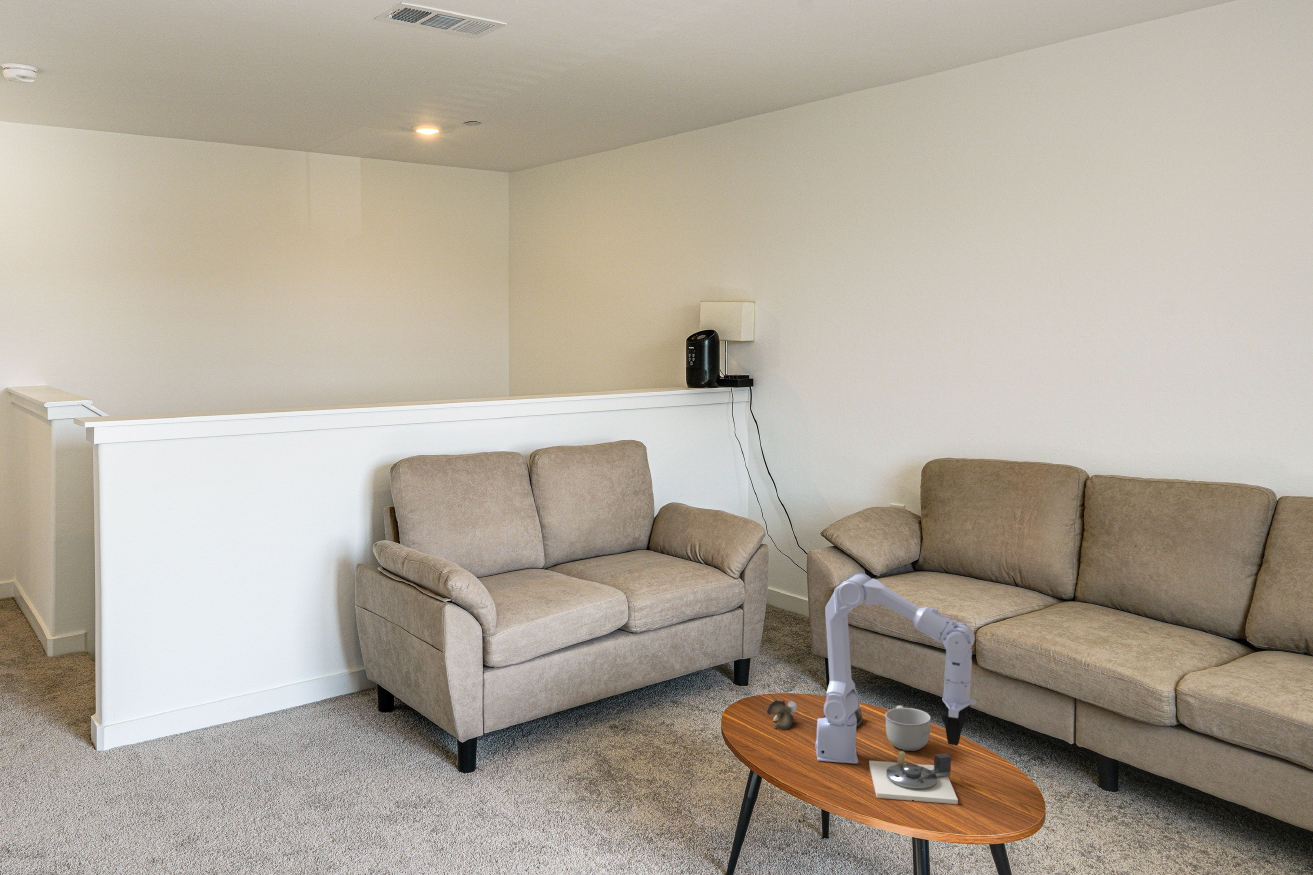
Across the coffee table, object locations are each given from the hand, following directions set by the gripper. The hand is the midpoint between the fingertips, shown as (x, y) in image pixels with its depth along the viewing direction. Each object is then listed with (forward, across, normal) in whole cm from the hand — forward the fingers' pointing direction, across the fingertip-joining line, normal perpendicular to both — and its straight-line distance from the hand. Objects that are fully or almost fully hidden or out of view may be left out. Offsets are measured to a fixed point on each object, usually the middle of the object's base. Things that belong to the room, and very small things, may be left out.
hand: (954, 737), depth 207 cm
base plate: (+10, -5, +8) cm, 14 cm away
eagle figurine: (+11, +17, +44) cm, 49 cm away
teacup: (+11, +18, +13) cm, 24 cm away
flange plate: (+9, -3, +7) cm, 12 cm away
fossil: (+11, +24, +30) cm, 40 cm away
